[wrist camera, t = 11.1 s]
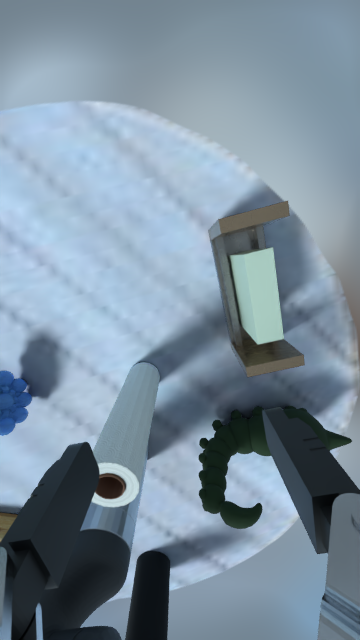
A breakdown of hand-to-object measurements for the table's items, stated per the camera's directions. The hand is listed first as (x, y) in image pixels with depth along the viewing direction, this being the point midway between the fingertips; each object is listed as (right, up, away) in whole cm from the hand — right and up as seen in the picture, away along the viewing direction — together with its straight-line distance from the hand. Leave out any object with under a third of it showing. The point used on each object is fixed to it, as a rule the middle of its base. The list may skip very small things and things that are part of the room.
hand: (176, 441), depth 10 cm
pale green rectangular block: (+11, +11, +26) cm, 31 cm away
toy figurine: (+16, -15, +35) cm, 41 cm away
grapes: (-32, -7, +33) cm, 46 cm away
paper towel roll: (-7, -5, +32) cm, 34 cm away
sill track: (+11, +11, +27) cm, 32 cm away
